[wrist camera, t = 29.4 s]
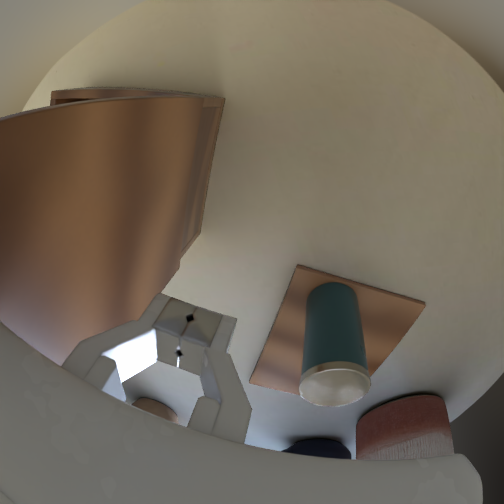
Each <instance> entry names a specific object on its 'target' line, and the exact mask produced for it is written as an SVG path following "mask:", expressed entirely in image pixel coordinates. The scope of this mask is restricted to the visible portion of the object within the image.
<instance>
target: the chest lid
mask: <svg viewBox="0 0 504 504" xmlns="http://www.w3.org/2000/svg"><path fill="white" fill-rule="evenodd" d="M203 103H204V98H203V97H197V96H132V97H116V98H104V99H94V100H86V101H78V102H71V103H65V104H59V105H53V106H48V107H42V108H38V109H33V110H29V111H24V112H20V113H16V114H12V115H9V116H5V117H1V118H0V321H1V322H2V323H3V324H4V325H5V326H6V327H8V328H9V329H10V330H11V331H12V332H14V333H15V334H16V335H17V336H19V337H20V338H21V339H23V340H24V341H25V342H27V343H28V344H29V345H31V346H32V347H33V348H35V349H36V350H37V351H39V352H40V353H42V354H43V355H45V356H46V357H47V358H49V359H50V360H52V361H53V362H55V363H56V364H58V365H60V366H62V364H63V363H64V362H65V360H66V359H67V358H68V356H69V355H70V354H71V352H72V351H73V350H74V348H75V347H76V346H77V344H78V343H79V342H80V341H82V340H84V339H87V338H89V337H92V336H94V335H97V334H99V333H102V332H104V331H107V330H110V329H112V328H115V327H117V326H120V325H122V324H125V323H127V322H130V321H132V320H136V321H138V320H139V318H140V317H141V315H142V314H143V312H144V311H145V310H146V308H147V307H148V305H149V304H150V303H151V301H152V300H153V298H154V297H155V296H156V294H158V293H161V292H162V290H163V289H164V288H165V286H166V285H167V284H168V282H169V281H170V280H171V278H172V277H173V276H174V274H175V273H176V272H177V271H178V269H179V267H180V256H181V246H182V237H183V228H184V219H185V211H186V204H187V196H188V189H189V182H190V176H191V169H192V163H193V157H194V151H195V145H196V139H197V134H198V128H199V123H200V118H201V113H202V108H203Z"/></svg>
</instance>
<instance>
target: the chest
mask: <svg viewBox="0 0 504 504" xmlns="http://www.w3.org/2000/svg"><path fill="white" fill-rule="evenodd" d="M132 96H197V97H203V98H204V103H203V108H202V113H201V118H200V123H199V128H198V134H197V139H196V145H195V151H194V157H193V163H192V169H191V176H190V182H189V189H188V196H187V204H186V211H185V219H184V228H183V237H182V246H181V256H180V259H181V258H182V256H183V255H184V254H185V253H186V251H187V250H188V249H189V247H190V246H191V245H192V243H193V242H194V241H195V239H196V238H197V237H198V236H199V235H200V231H201V224H202V218H203V212H204V206H205V200H206V194H207V188H208V182H209V177H210V171H211V166H212V160H213V155H214V150H215V145H216V140H217V135H218V130H219V125H220V120H221V116H222V111H223V107H224V102H225V98H221V97H215V96H209V95H202V94H195V93H187V92H179V91H169V90H159V89H145V88H125V87H86V88H74V89H64V90H56V91H52V92H51V102H50V106H53V105H59V104H65V103H71V102H78V101H86V100H94V99H104V98H116V97H132Z"/></svg>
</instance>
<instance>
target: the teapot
mask: <svg viewBox="0 0 504 504" xmlns="http://www.w3.org/2000/svg"><path fill="white" fill-rule="evenodd" d="M281 452H286V453H293V454H299V455H307V456H315V457H325V458H336V459H351V453H350V451H349V450H348V449H347V448H346V447H345V446H343V445H342V444H341V443H339V442H336V441H332V440H324V439H313V440H305V441H300V442H297V443H295V444H294V445H292V446H291V447H289V448H288V449H285V450H283V451H281Z"/></svg>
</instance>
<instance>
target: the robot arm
mask: <svg viewBox="0 0 504 504" xmlns="http://www.w3.org/2000/svg"><path fill="white" fill-rule="evenodd" d="M236 322H237V318H234V317H231V316H227V315H223V314H221V313H217V312H214V311H211V310H208V309H205V308H201V307H198V306H195V305H192V304H189V303H187V302H184V301H181V300H178V299H176V298H173V297H170V296H167V295H165V294H162V293H158V294H156V296H155V297H154V298H153V300H152V301H151V303H150V304H149V305H148V307H147V308H146V310H145V311H144V312H143V314H142V315H141V317H140V318H139V320H138V321H136V320H132V321H130V322H127V323H125V324H122V325H120V326H117V327H115V328H112V329H110V330H107V331H104V332H102V333H99V334H97V335H94V336H92V337H89V338H87V339H84V340H82V341H80V342H79V343H78V344H77V346H76V347H75V348H74V350H73V351H72V352H71V354H70V355H69V356H68V358H67V359H66V360H65V362H64V363H63V364H62V366H60V365H58V364H56V363H55V362H53V361H52V360H50V359H49V358H47V357H46V356H45V355H43V354H42V353H40V352H39V351H37V350H36V349H35V348H33V347H32V346H31V345H29V344H28V343H27V342H25V341H24V340H23V339H21V338H20V337H19V336H17V335H16V334H15V333H14V332H12V331H11V330H10V329H9V328H8V327H6V326H5V325H4V324H3V323H2V322H1V321H0V504H483V493H482V483H481V478H480V476H479V474H478V472H477V471H476V469H475V468H474V467H473V465H472V464H471V463H470V461H469V460H468V459H467V458H466V457H465V456H464V455H462V454H452V455H445V456H438V457H429V458H418V459H402V460H352V459H336V458H325V457H315V456H307V455H299V454H293V453H286V452H280V451H275V450H270V449H265V448H260V447H255V446H251V445H246V444H244V442H245V438H246V433H247V429H248V425H249V421H250V416H251V412H252V408H251V405H250V403H249V401H248V398H247V396H246V393H245V391H244V389H243V386H242V384H241V381H240V379H239V376H238V374H237V371H236V369H235V366H234V363H233V361H232V358H231V356H230V354H228V350H229V347H230V343H231V340H232V336H233V333H234V329H235V326H236ZM157 360H158V361H161V362H164V363H166V364H169V365H172V366H175V367H178V368H180V369H183V370H186V371H188V372H191V373H193V374H196V375H199V376H200V379H201V383H202V387H203V391H204V395H205V396H202V397H200V398H198V400H197V403H196V405H195V408H194V410H193V413H192V415H191V418H190V421H189V423H188V426H187V427H185V426H182V425H179V424H177V423H174V422H171V421H169V420H166V419H163V418H161V417H158V416H156V415H153V414H151V413H149V412H146V411H144V410H142V409H139V408H137V407H135V406H133V405H131V404H128V403H126V402H125V400H126V396H125V392H124V389H123V386H122V382H123V381H125V380H127V379H128V378H130V377H132V376H133V375H135V374H137V373H138V372H140V371H142V370H143V369H145V368H146V367H148V366H150V365H151V364H153V363H155V362H156V361H157Z"/></svg>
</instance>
